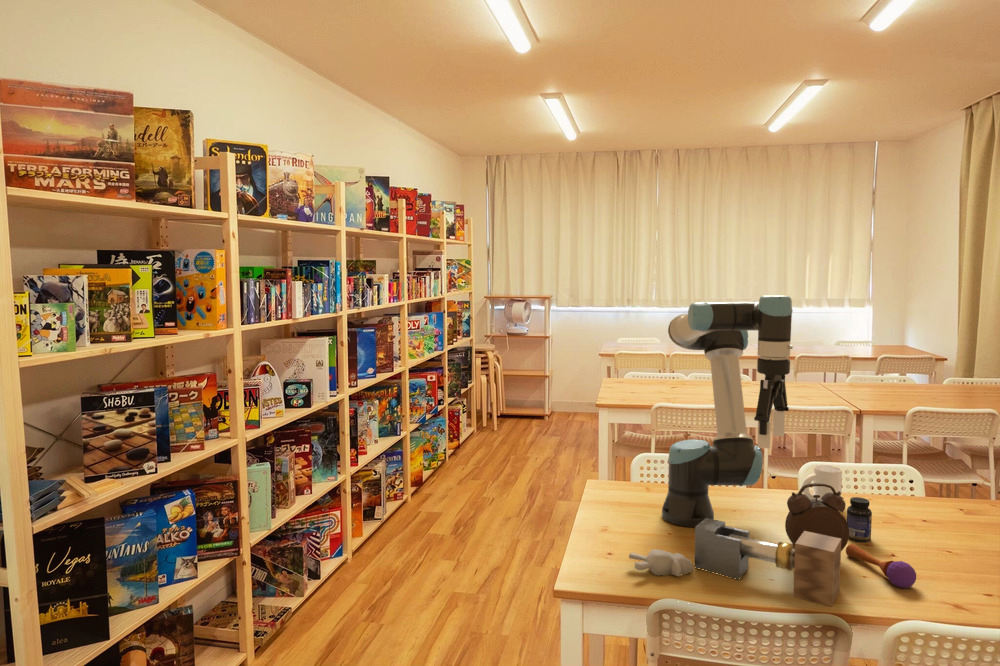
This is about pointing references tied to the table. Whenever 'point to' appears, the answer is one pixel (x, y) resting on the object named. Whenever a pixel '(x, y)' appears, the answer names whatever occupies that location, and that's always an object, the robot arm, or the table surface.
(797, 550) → the socket block
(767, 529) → the table surface
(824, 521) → the alarm clock
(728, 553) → the square shaft housing
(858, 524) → the pill bottle
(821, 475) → the mug
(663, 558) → the bunny figurine
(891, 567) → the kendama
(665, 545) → the table surface
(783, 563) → the tube
